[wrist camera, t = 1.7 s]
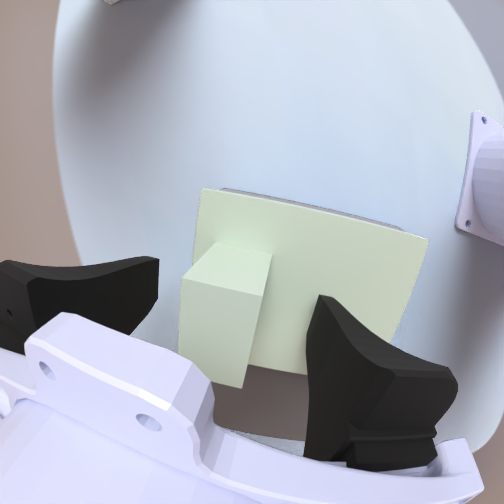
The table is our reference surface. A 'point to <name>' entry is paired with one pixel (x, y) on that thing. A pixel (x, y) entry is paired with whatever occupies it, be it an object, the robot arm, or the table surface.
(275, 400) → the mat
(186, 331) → the lid
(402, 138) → the table surface
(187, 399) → the robot arm
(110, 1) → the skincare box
